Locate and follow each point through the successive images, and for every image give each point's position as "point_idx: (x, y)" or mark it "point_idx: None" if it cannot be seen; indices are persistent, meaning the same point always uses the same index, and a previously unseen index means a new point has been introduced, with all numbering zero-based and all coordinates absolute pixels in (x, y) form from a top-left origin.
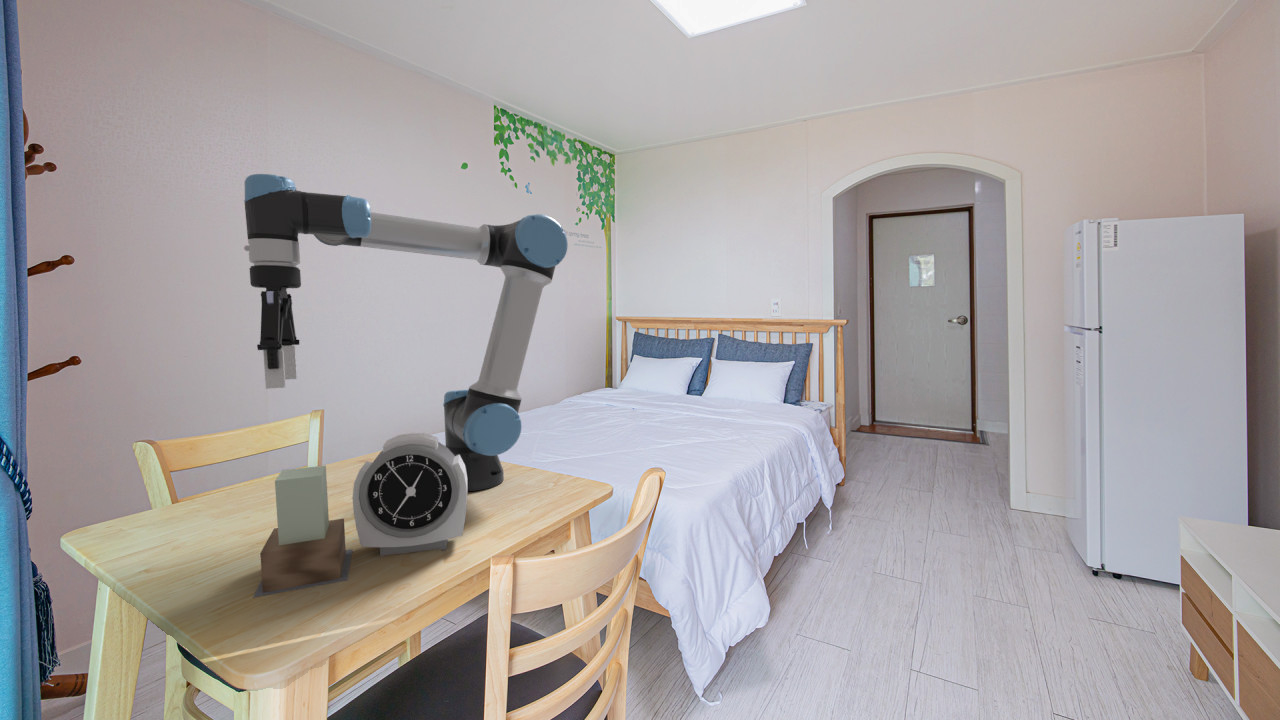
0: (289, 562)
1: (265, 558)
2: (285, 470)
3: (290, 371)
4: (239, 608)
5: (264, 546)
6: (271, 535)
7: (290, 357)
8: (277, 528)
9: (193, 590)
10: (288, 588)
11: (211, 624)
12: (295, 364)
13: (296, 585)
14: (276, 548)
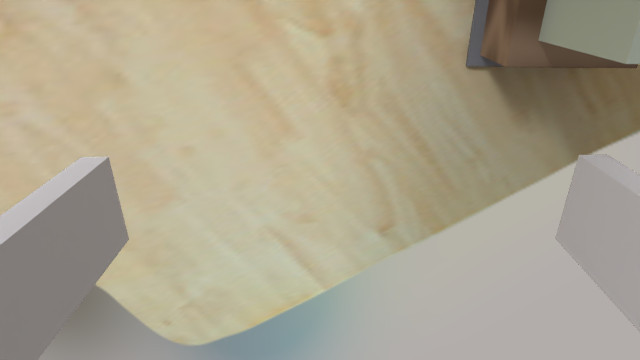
0: None
1: None
2: (637, 54)
3: (89, 213)
4: (611, 79)
5: (604, 66)
6: (548, 64)
7: (17, 278)
8: (512, 60)
9: (500, 154)
10: None
11: (637, 105)
12: (46, 209)
13: None
14: None
